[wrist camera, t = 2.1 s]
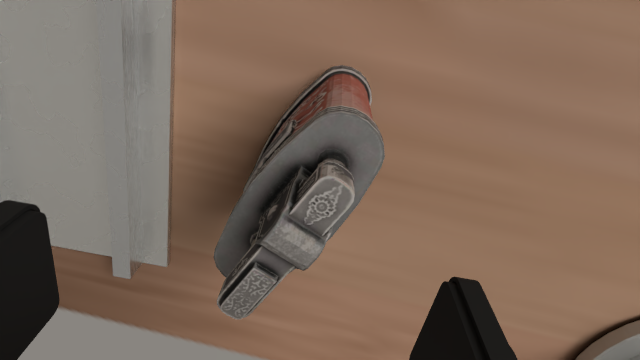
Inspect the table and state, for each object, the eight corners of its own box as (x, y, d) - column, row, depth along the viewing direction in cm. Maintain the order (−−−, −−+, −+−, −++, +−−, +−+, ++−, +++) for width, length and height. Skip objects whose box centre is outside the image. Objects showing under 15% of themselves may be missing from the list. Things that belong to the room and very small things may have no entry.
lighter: (331, 49, 18) (318, 113, 9) (387, 93, 19) (424, 192, 10) (240, 172, 21) (165, 309, 12) (291, 206, 22) (256, 358, 13)
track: (177, -77, 16) (157, -84, 15) (169, 262, 24) (156, 283, 23) (-120, -142, 16) (-176, -157, 14) (-28, 226, 24) (-56, 244, 22)
